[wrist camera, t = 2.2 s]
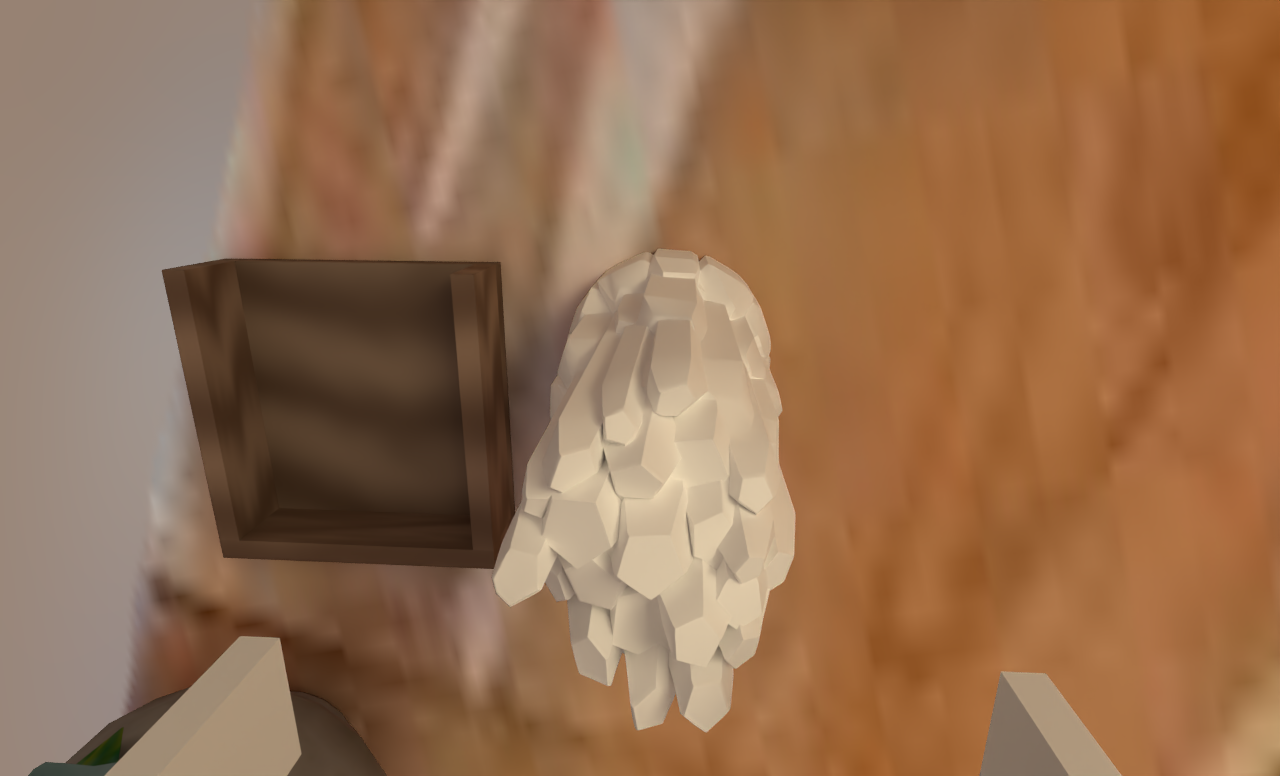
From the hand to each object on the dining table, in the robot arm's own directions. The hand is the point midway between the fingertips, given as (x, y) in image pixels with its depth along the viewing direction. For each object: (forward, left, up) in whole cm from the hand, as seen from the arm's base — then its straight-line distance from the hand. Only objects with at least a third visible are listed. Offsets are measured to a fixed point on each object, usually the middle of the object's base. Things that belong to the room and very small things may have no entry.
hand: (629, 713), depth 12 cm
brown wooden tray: (+4, -18, -28) cm, 33 cm away
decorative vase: (0, 0, -28) cm, 28 cm away
